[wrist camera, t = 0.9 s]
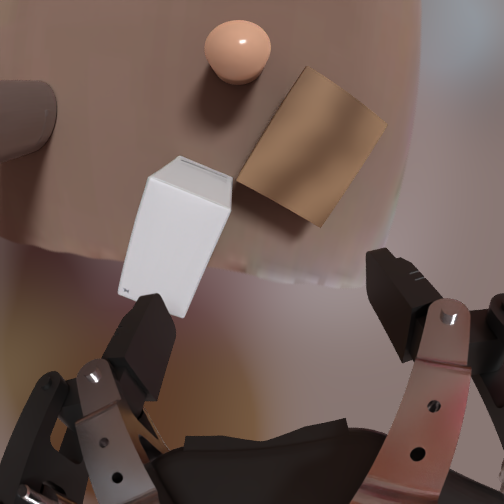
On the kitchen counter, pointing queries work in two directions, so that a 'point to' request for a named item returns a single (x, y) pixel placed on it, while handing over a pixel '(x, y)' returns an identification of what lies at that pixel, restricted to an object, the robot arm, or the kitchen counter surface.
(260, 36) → the peach rounded knob
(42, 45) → the kitchen counter surface
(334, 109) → the stand
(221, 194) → the skincare box
